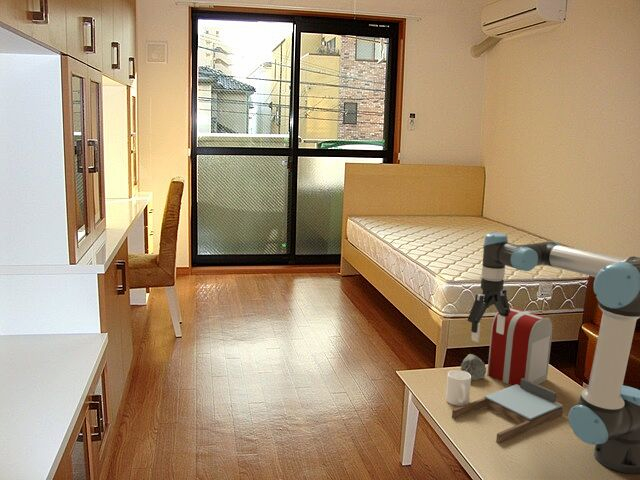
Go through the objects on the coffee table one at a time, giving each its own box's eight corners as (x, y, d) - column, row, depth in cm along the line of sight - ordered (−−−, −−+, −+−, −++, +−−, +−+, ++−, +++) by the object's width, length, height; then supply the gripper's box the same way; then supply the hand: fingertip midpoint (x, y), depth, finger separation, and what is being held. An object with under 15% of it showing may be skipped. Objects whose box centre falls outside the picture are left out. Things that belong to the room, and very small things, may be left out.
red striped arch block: (525, 390, 239) (532, 323, 233) (485, 375, 251) (491, 311, 246) (548, 379, 249) (555, 314, 244) (509, 365, 262) (515, 303, 256)
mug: (475, 411, 221) (477, 384, 219) (452, 411, 221) (454, 384, 218) (465, 395, 233) (467, 369, 231) (443, 396, 232) (445, 369, 230)
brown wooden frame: (561, 415, 220) (562, 407, 219) (498, 443, 200) (499, 434, 200) (514, 393, 236) (515, 386, 235) (451, 417, 216) (452, 409, 216)
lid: (562, 406, 219) (563, 395, 219) (530, 420, 209) (531, 408, 208) (516, 385, 235) (517, 375, 234) (484, 397, 225) (485, 386, 224)
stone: (479, 357, 243) (473, 347, 252) (458, 372, 244) (452, 362, 254) (493, 375, 244) (486, 364, 254) (472, 390, 246) (466, 379, 255)
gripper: (506, 271, 225) (501, 327, 230) (459, 281, 211) (455, 340, 215) (524, 275, 220) (518, 333, 224) (477, 286, 205) (472, 347, 209)
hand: (487, 337), depth 220 cm, fingers open, 13 cm apart
